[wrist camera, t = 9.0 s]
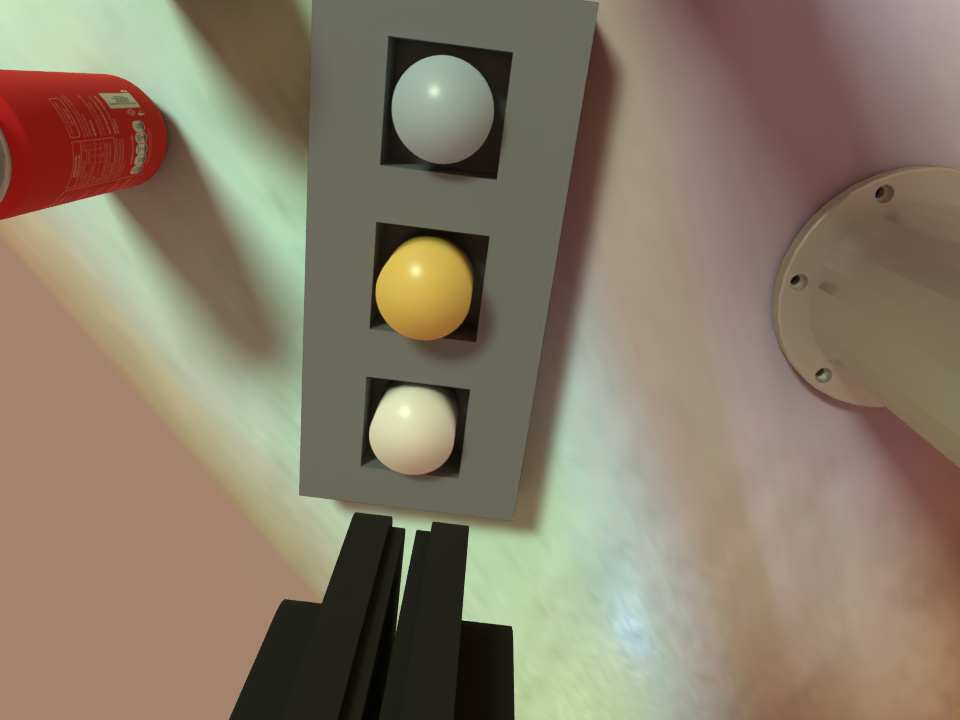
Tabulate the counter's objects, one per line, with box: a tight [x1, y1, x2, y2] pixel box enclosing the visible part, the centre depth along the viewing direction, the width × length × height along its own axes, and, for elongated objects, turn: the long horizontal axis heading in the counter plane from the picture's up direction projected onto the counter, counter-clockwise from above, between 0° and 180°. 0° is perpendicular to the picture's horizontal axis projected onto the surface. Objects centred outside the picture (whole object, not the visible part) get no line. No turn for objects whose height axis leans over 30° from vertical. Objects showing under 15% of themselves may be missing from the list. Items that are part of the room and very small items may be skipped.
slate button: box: [392, 55, 495, 164], centre depth 31 cm, size 4×4×3 cm
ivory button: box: [369, 380, 458, 475], centre depth 37 cm, size 4×4×3 cm
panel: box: [299, 0, 599, 521], centre depth 35 cm, size 12×26×3 cm, turn 173°
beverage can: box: [0, 70, 168, 220], centre depth 28 cm, size 5×5×12 cm
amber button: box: [376, 233, 474, 340], centre depth 33 cm, size 4×4×3 cm
